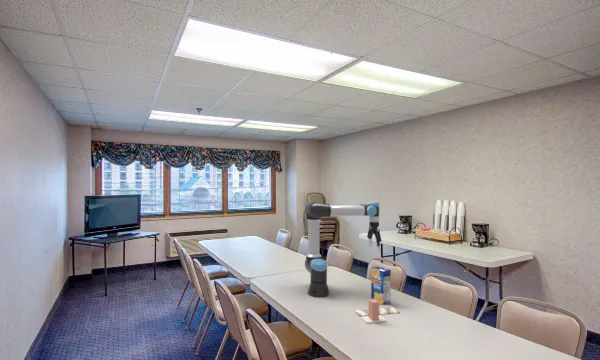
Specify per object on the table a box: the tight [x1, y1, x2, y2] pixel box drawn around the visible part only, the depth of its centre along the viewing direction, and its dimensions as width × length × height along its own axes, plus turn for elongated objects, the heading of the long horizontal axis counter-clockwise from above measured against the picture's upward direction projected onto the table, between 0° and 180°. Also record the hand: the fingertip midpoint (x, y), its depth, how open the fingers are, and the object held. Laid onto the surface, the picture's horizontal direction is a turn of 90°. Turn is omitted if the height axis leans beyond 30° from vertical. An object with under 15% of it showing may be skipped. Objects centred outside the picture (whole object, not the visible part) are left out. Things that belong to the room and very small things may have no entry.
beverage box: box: [370, 266, 392, 306], centre depth 216 cm, size 7×11×22 cm, turn 31°
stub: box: [360, 298, 387, 325], centre depth 184 cm, size 12×7×11 cm, turn 103°
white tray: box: [353, 306, 401, 318], centre depth 190 cm, size 26×18×2 cm
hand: (373, 248), depth 254 cm, fingers open, 13 cm apart
